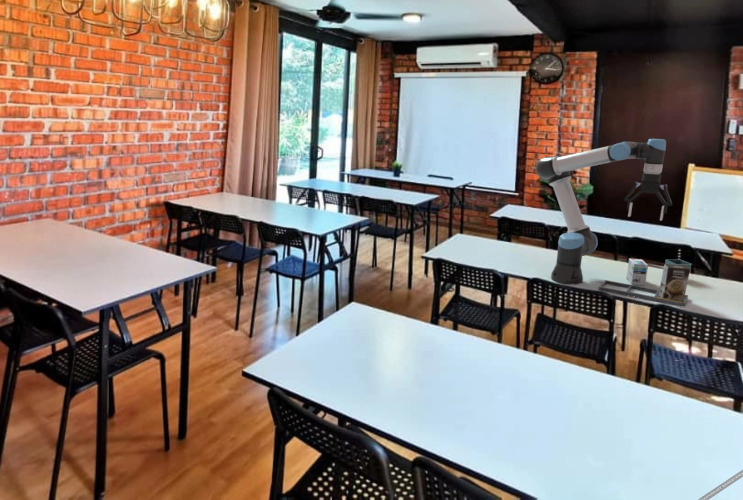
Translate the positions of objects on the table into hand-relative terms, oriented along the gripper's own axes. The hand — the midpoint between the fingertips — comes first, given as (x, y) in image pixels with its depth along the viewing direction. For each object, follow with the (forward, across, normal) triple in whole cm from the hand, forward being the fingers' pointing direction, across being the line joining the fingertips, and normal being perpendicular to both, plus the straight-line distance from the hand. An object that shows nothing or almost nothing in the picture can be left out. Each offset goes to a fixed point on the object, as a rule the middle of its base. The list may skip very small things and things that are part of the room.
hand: (644, 218), depth 250 cm
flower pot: (+35, +15, +31) cm, 49 cm away
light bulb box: (+35, -1, +11) cm, 37 cm away
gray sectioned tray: (+35, +5, -8) cm, 36 cm away
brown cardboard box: (+35, +17, -8) cm, 40 cm away
